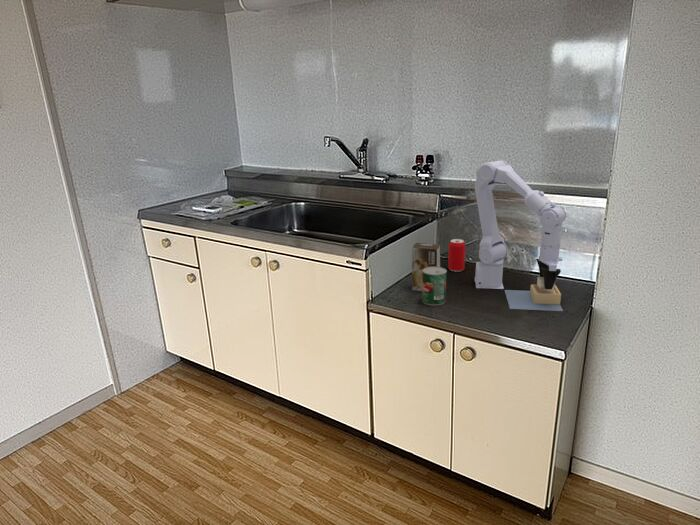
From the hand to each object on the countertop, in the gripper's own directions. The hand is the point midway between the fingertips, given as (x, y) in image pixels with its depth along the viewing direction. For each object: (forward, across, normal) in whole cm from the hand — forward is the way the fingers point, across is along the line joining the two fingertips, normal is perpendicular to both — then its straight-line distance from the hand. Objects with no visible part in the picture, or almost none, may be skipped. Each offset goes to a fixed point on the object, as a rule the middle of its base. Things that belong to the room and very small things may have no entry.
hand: (546, 284), depth 160 cm
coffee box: (+6, +7, +39) cm, 40 cm away
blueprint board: (+6, -1, +4) cm, 7 cm away
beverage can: (+6, +28, +28) cm, 40 cm away
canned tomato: (+6, -4, +36) cm, 37 cm away
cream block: (+3, 0, 0) cm, 3 cm away
